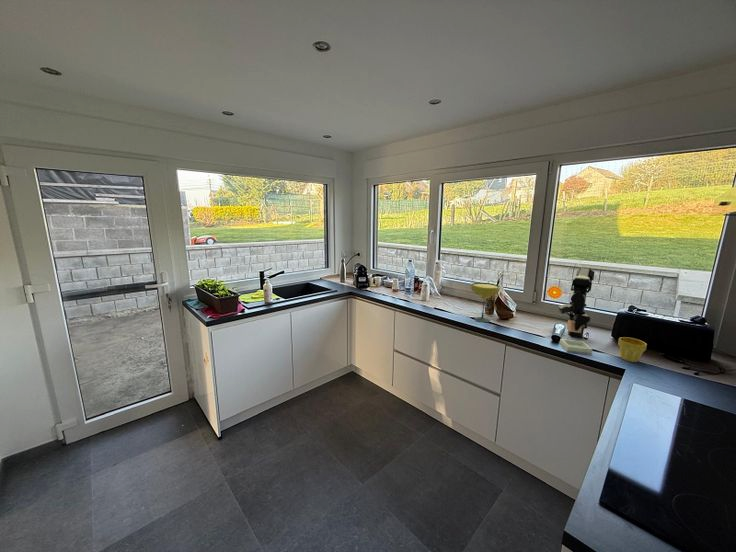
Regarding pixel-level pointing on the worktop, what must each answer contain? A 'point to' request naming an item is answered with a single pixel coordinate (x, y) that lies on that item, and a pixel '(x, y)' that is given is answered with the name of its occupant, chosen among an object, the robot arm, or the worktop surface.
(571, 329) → the terracotta block
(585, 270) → the robot arm
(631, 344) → the plant pot
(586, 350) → the sage tray
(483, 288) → the cocktail glass
